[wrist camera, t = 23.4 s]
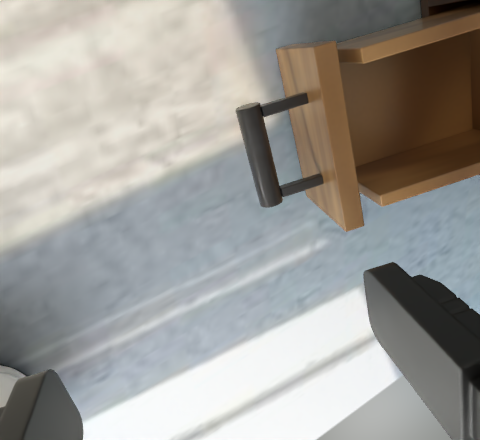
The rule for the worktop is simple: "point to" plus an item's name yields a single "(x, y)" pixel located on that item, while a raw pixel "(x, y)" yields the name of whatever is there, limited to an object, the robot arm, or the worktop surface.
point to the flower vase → (7, 382)
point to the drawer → (375, 115)
